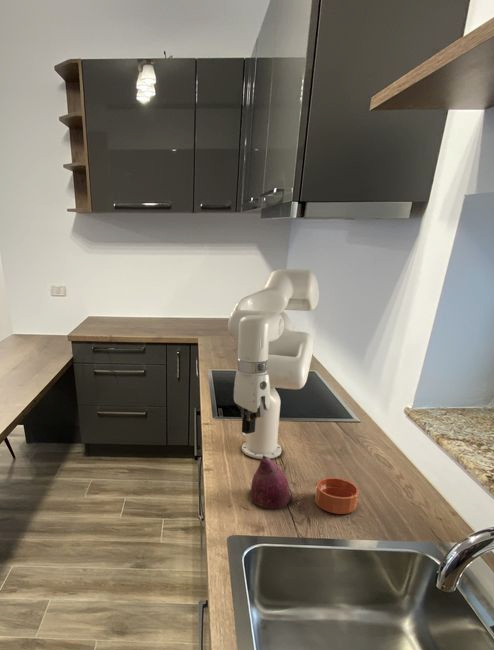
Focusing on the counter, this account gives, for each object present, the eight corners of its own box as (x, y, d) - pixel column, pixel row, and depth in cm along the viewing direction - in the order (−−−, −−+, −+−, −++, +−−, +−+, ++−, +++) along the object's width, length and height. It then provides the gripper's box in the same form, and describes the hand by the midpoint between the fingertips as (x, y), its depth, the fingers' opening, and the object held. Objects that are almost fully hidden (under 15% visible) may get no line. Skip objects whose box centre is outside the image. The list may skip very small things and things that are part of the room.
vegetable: (260, 521, 114) (253, 478, 106) (245, 495, 123) (237, 454, 114) (297, 507, 115) (293, 463, 107) (280, 482, 124) (274, 440, 115)
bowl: (306, 500, 117) (308, 483, 115) (334, 489, 121) (336, 473, 119) (336, 520, 109) (338, 502, 107) (364, 508, 113) (367, 491, 111)
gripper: (283, 370, 108) (277, 439, 115) (246, 357, 120) (242, 420, 127) (258, 375, 105) (254, 445, 112) (223, 361, 117) (221, 425, 124)
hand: (248, 431), depth 120 cm, fingers closed
